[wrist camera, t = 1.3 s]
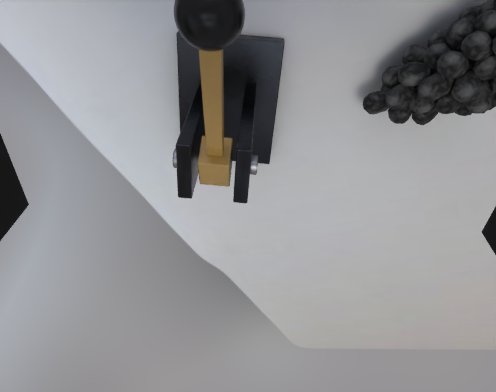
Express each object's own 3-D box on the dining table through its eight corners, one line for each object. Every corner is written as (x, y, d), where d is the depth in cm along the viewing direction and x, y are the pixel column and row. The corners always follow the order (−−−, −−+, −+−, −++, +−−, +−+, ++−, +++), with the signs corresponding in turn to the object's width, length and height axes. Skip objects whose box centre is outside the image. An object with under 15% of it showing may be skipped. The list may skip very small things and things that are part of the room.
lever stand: (179, 29, 33) (139, 85, 23) (284, 38, 33) (290, 98, 23) (183, 150, 41) (154, 234, 30) (269, 157, 41) (269, 243, 30)
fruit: (386, 167, 30) (621, 79, 25) (346, 65, 28) (591, -53, 23) (377, 142, 38) (553, 71, 33) (344, 61, 36) (526, -28, 31)
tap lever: (176, -46, 17) (163, 1, 16) (248, -39, 17) (243, 7, 16) (198, 152, 30) (192, 188, 29) (239, 156, 30) (235, 192, 29)
